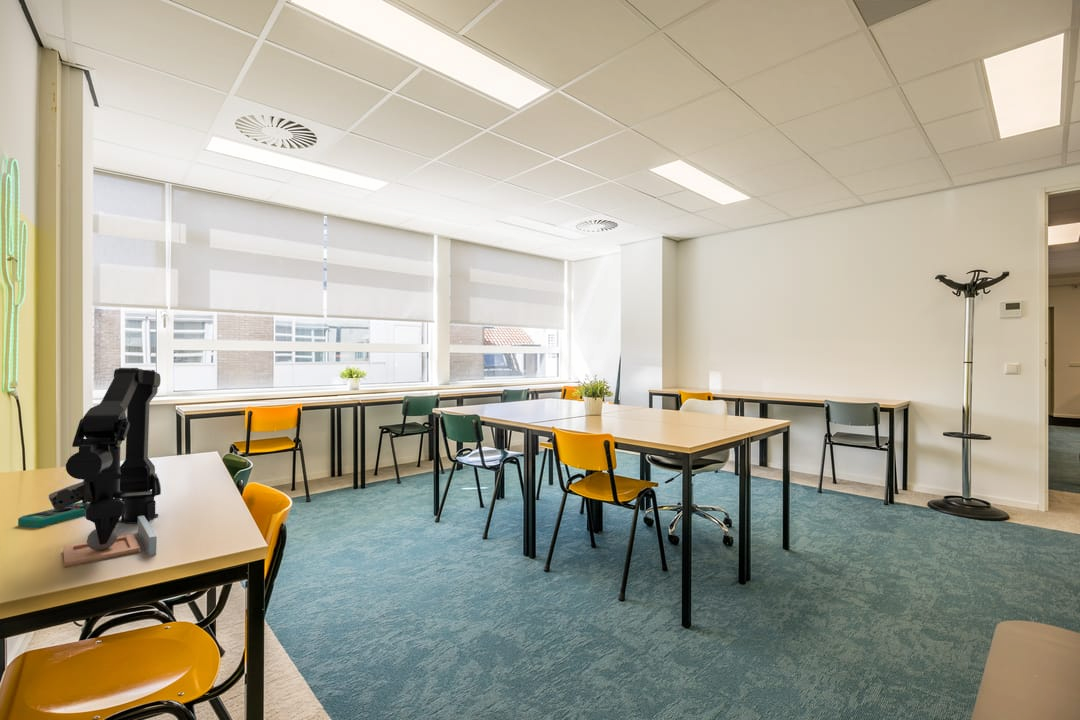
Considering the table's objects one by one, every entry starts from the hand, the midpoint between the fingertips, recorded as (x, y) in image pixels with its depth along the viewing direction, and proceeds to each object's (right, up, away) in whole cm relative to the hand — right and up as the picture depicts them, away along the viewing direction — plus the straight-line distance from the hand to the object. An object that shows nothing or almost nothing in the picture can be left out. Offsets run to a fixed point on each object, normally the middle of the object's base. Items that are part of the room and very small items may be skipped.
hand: (102, 540), depth 110 cm
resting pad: (0, -3, 0) cm, 2 cm away
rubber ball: (0, 0, 0) cm, 0 cm away
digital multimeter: (-31, -3, +22) cm, 38 cm away
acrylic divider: (+6, -3, +5) cm, 8 cm away
